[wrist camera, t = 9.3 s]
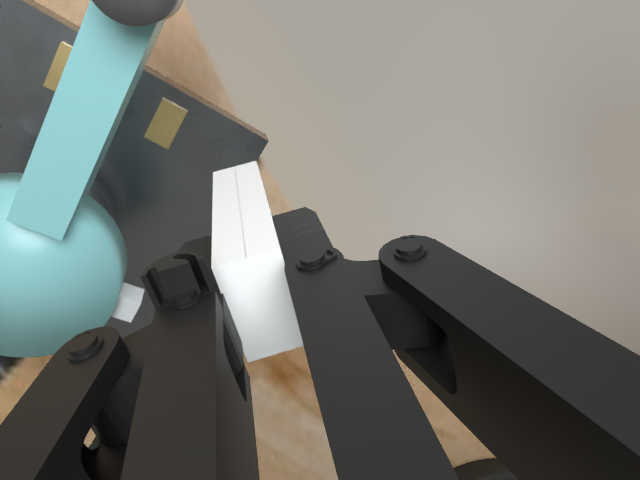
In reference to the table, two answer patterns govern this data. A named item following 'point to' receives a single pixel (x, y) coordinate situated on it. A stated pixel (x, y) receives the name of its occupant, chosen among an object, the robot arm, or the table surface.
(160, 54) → the table surface
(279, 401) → the table surface
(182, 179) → the post base
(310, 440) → the table surface
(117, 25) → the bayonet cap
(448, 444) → the table surface
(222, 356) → the robot arm
